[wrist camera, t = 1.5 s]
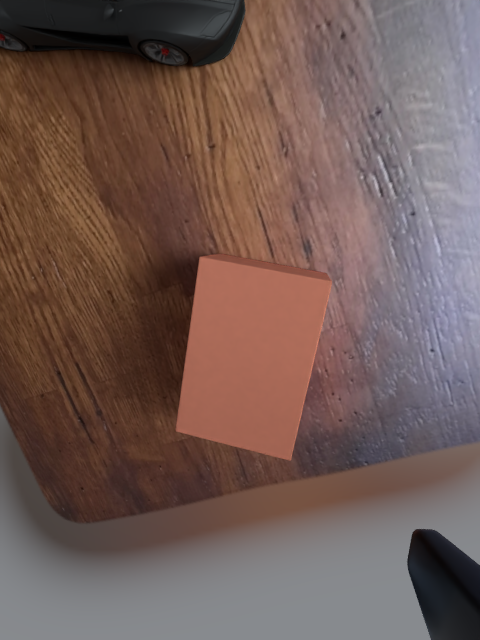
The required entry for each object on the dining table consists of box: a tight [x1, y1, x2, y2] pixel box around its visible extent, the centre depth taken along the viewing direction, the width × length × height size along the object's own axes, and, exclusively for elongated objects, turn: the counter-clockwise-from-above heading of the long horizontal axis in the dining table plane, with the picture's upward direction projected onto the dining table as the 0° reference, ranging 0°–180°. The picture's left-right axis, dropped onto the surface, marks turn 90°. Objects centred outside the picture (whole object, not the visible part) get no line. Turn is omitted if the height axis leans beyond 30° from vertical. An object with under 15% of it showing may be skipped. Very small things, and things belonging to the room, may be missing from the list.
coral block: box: [176, 254, 332, 461], centre depth 19 cm, size 9×6×4 cm, turn 170°
